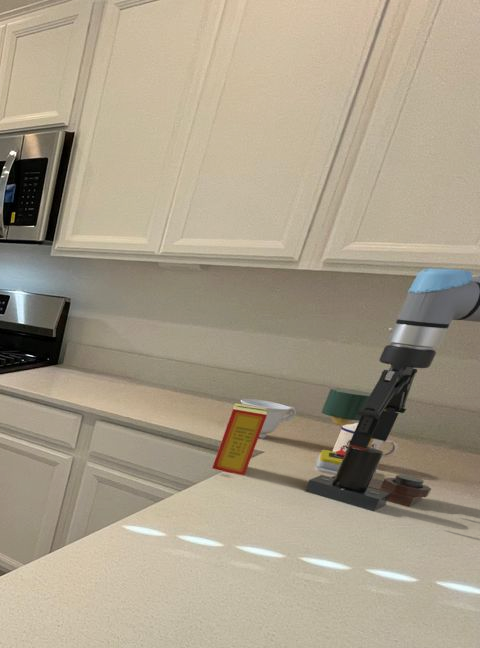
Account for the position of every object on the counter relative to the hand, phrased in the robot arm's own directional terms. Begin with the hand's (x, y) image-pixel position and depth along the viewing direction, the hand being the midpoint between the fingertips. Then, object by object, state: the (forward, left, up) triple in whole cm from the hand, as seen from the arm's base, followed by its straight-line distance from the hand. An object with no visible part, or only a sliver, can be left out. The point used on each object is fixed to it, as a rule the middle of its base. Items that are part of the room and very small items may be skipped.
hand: (367, 442), depth 129 cm
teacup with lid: (+8, -42, -14) cm, 45 cm away
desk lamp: (+6, -13, -9) cm, 17 cm away
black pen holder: (0, 0, -10) cm, 10 cm away
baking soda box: (+22, +2, -14) cm, 26 cm away
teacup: (+32, -45, -14) cm, 57 cm away
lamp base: (-2, -13, -14) cm, 19 cm away
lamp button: (-7, -13, -10) cm, 18 cm away
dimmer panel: (0, 0, -13) cm, 13 cm away
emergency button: (+8, -27, -14) cm, 31 cm away
